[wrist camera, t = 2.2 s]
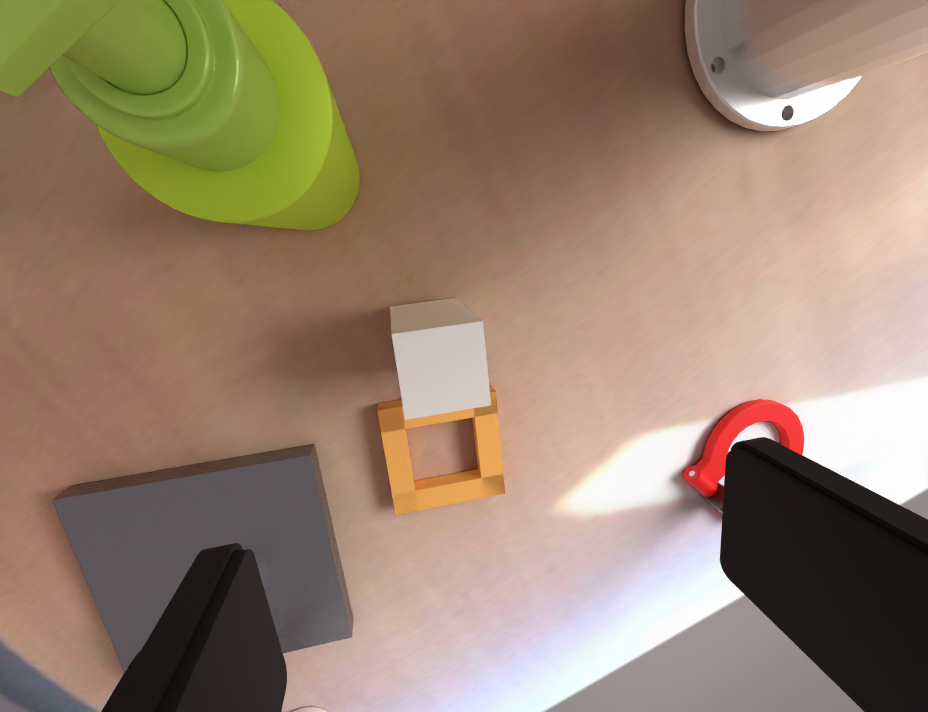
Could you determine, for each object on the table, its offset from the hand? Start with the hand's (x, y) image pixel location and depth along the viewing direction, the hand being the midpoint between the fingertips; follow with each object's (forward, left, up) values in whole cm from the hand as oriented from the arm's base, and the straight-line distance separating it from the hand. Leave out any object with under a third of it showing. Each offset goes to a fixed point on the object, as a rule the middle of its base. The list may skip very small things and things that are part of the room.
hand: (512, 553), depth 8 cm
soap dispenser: (-10, -5, -20) cm, 23 cm away
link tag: (+5, 0, -20) cm, 20 cm away
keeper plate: (+13, -15, -20) cm, 28 cm away
